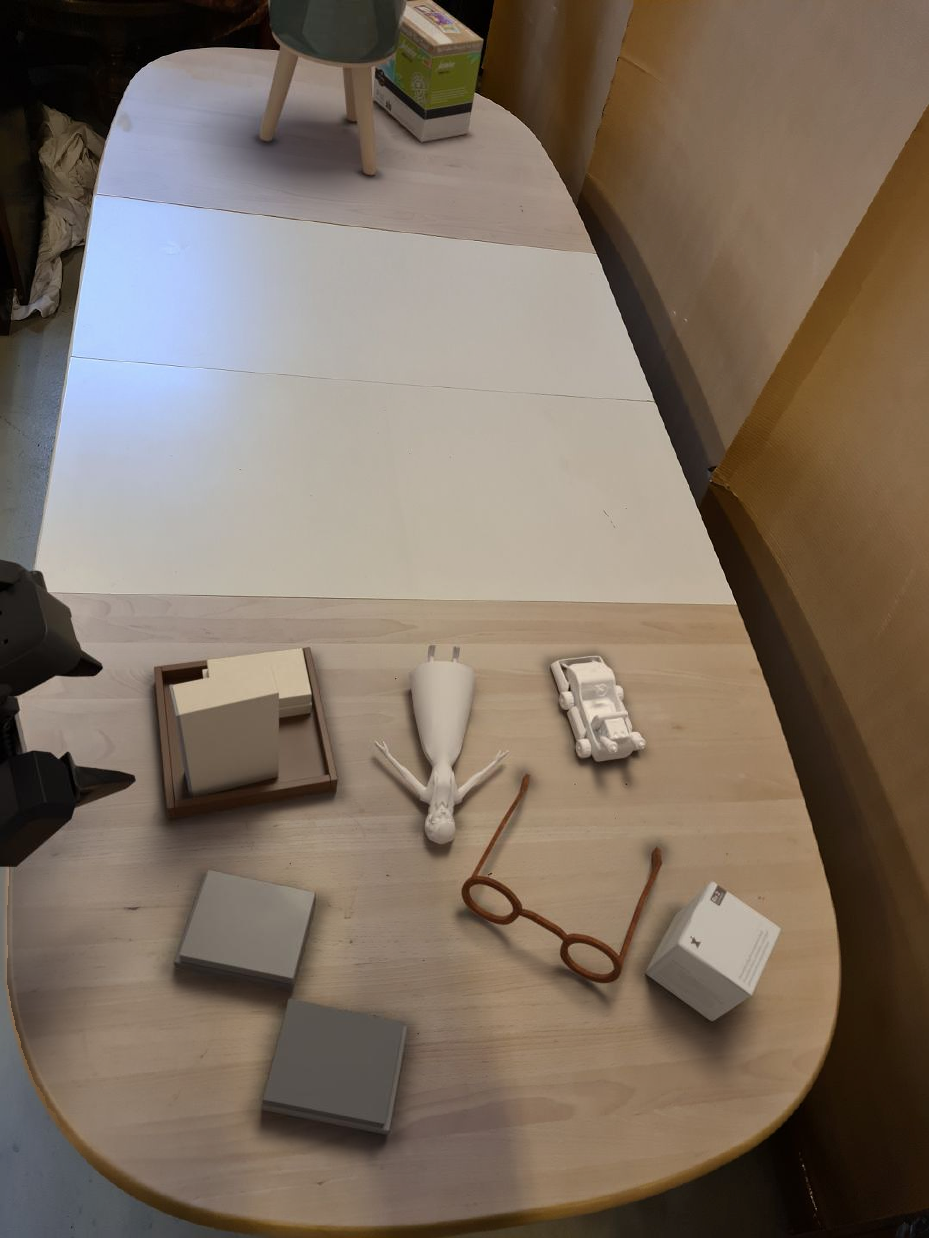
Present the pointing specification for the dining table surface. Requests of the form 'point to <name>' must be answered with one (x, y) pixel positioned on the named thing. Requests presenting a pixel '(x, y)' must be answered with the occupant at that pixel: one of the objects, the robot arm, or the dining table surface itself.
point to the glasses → (545, 923)
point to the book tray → (299, 775)
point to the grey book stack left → (246, 931)
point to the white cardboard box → (714, 952)
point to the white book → (228, 729)
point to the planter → (335, 54)
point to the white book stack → (286, 673)
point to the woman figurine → (441, 737)
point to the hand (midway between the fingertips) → (114, 724)
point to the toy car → (595, 709)
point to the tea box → (430, 73)
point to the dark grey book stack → (336, 1067)
